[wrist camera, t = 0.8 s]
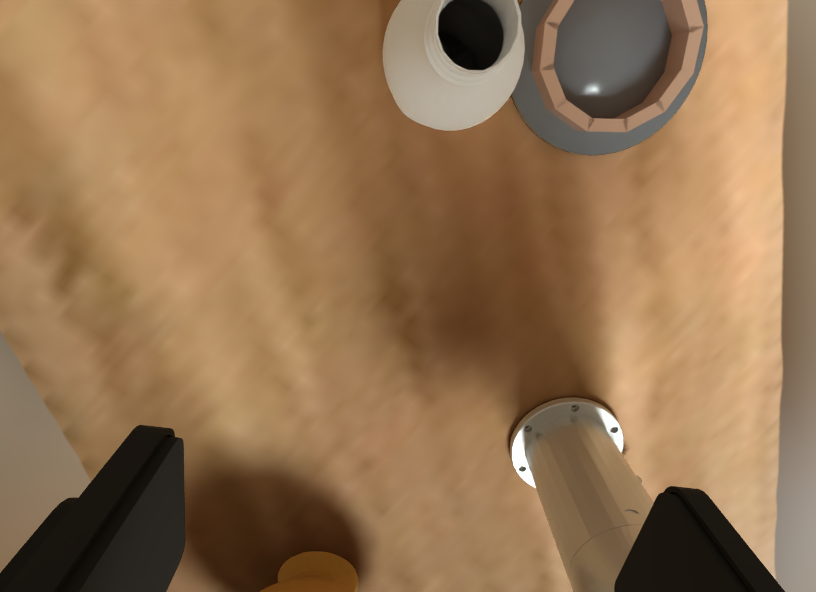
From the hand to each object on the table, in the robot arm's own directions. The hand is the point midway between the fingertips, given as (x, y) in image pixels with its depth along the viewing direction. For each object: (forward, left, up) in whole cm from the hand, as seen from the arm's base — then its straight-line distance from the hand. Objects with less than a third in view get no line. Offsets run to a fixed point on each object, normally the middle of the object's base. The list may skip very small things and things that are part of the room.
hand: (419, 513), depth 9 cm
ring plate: (-8, -19, -36) cm, 41 cm away
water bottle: (+3, -10, -36) cm, 38 cm away
